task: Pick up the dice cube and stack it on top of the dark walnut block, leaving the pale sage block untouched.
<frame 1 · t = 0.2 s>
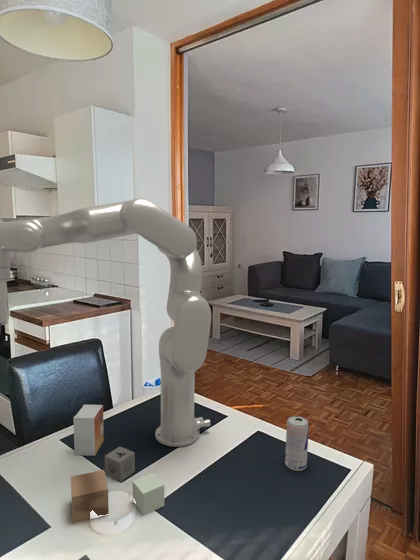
sage block: (148, 504, 87), on the table
walnut block: (89, 508, 85), on the table
small box: (89, 448, 108), on the table
energy drink: (295, 466, 101), on the table
dice cube: (120, 474, 97), on the table
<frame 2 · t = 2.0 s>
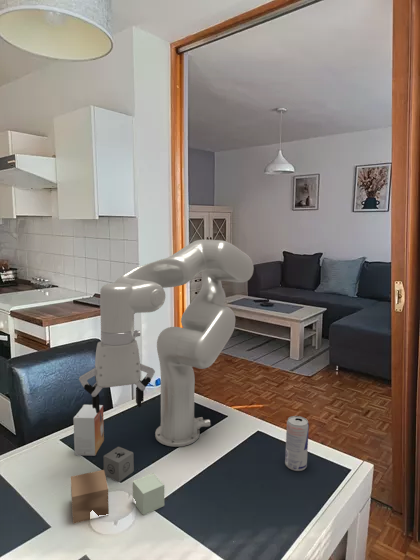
hand: (118, 407, 95), 17 cm above the table, fingers open, 9 cm apart
nothing on the table moved.
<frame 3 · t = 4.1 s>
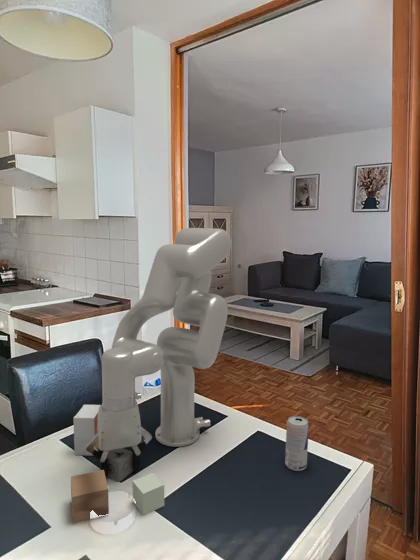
hand: (120, 470, 97), 1 cm above the table, fingers closed on dice cube, 6 cm apart
dice cube: (118, 473, 97), on the table, touching gripper
everything else where it was.
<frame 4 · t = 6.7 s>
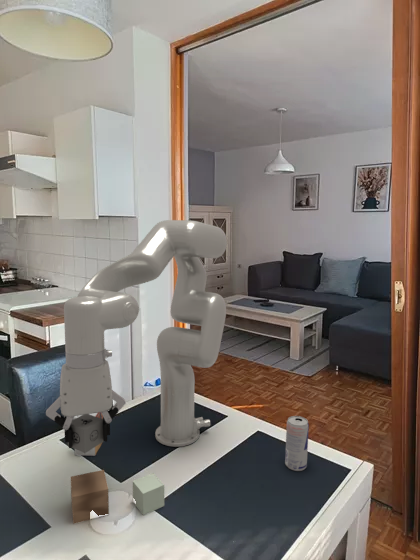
hand: (87, 440, 83), 15 cm above the table, fingers closed on dice cube, 6 cm apart
dice cube: (85, 444, 83), point 14 cm above the table, touching gripper
everything else where it was.
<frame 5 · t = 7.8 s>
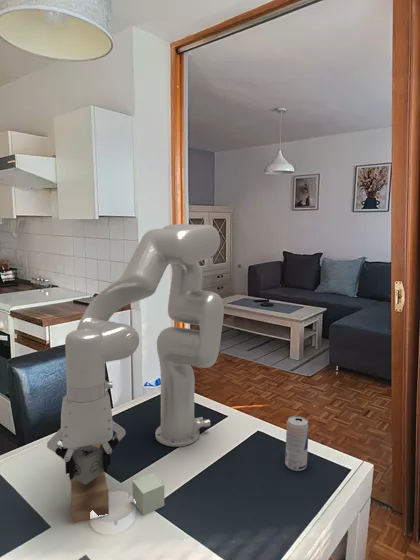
hand: (88, 471, 84), 8 cm above the table, fingers closed on dice cube, 6 cm apart
dice cube: (86, 475, 84), point 8 cm above the table, touching gripper
everything else where it was.
when the fingers open (7 cm above the table, at t = 8.9 s): dice cube drops 1 cm, resting on walnut block.
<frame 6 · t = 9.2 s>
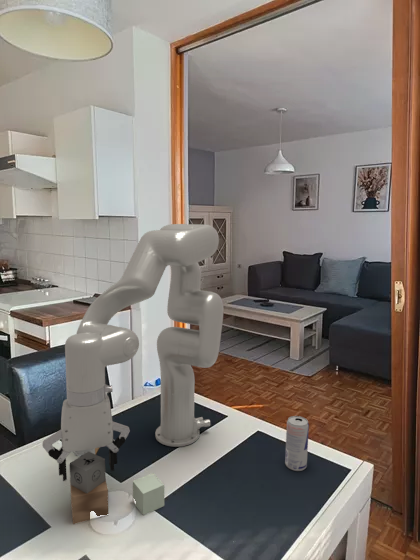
hand: (88, 472, 84), 8 cm above the table, fingers open, 9 cm apart
walnut block: (89, 509, 85), on the table, touching dice cube
dice cube: (88, 483, 84), point 6 cm above the table, touching walnut block
everything else where it was.
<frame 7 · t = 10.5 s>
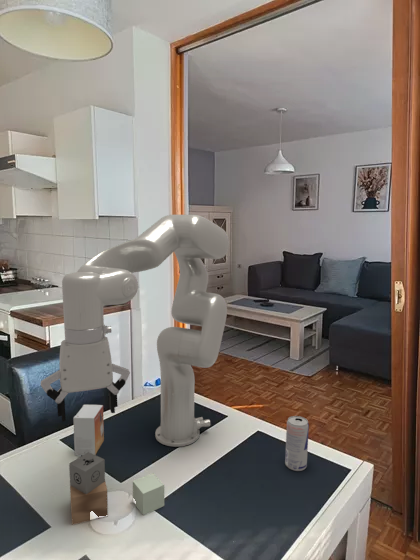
hand: (88, 414, 82), 21 cm above the table, fingers open, 9 cm apart
nothing on the table moved.
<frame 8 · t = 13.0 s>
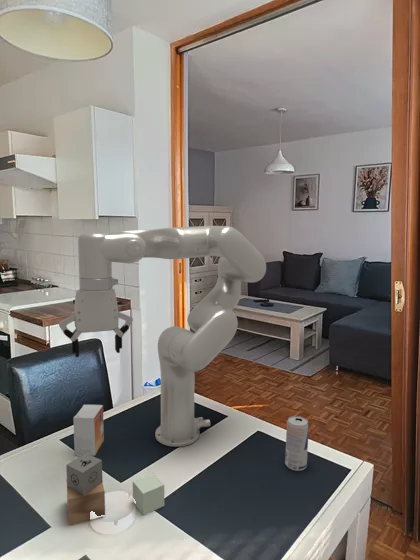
hand: (97, 353, 98), 28 cm above the table, fingers open, 9 cm apart
nothing on the table moved.
at the end: dice cube 0.0 cm off-centre on the walnut block, point 5.8 cm above the walnut block's base; dice cube touching walnut block; the gripper is holding nothing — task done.
